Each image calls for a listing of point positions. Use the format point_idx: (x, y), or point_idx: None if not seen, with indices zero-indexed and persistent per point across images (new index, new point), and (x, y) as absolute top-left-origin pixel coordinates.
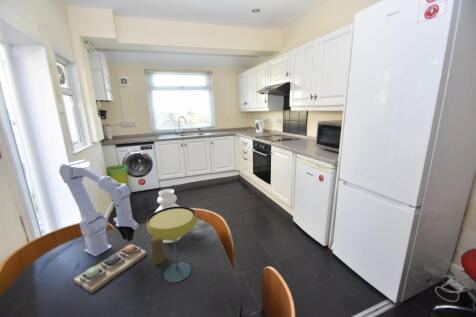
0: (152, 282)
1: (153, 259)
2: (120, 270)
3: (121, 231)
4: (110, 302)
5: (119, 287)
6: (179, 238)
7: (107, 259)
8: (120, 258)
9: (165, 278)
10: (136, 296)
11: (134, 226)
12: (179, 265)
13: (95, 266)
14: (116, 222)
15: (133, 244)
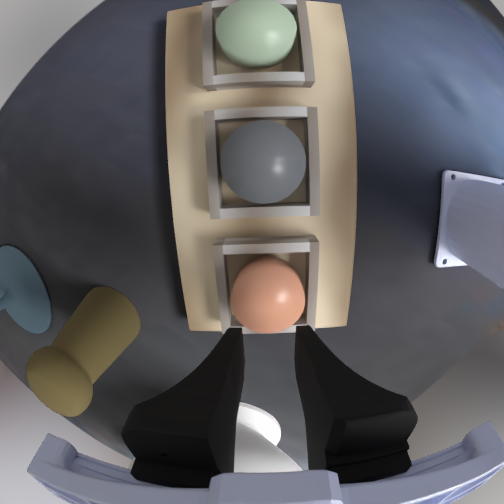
0: (27, 212)
1: (92, 299)
2: (170, 157)
3: (315, 387)
4: (66, 63)
5: (93, 109)
6: None
7: (278, 132)
8: (243, 206)
9: (13, 249)
10: (21, 141)
11: (34, 464)
12: (28, 315)
13: (277, 52)
14: (423, 479)
15: (271, 332)
